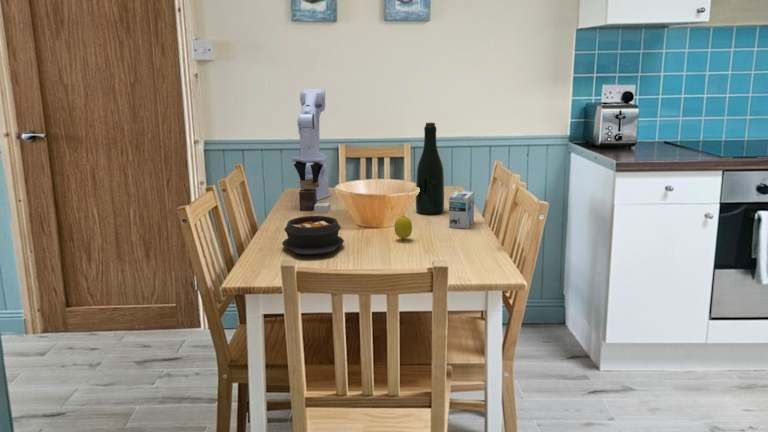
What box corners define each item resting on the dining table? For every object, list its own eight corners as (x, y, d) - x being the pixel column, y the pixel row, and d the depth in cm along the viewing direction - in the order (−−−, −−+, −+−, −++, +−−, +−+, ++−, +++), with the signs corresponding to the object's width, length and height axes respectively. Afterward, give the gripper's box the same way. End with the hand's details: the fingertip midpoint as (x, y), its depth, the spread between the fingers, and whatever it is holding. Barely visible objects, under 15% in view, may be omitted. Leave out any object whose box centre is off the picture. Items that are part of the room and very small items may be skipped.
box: (315, 210, 247) (314, 191, 245) (299, 210, 247) (298, 191, 245) (317, 207, 253) (316, 188, 251) (301, 207, 253) (301, 188, 251)
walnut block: (308, 186, 251) (307, 179, 250) (319, 186, 249) (318, 179, 248) (300, 188, 247) (299, 181, 246) (311, 189, 244) (310, 181, 244)
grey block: (317, 210, 248) (317, 202, 248) (330, 210, 248) (330, 202, 247) (314, 213, 243) (314, 205, 243) (327, 213, 243) (327, 205, 242)
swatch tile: (319, 202, 261) (319, 201, 260) (332, 203, 258) (332, 202, 258) (311, 205, 255) (311, 204, 255) (324, 206, 253) (324, 205, 253)
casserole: (347, 258, 188) (346, 230, 186) (282, 262, 186) (280, 233, 184) (341, 235, 212) (340, 210, 210) (283, 238, 210) (281, 213, 208)
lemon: (407, 236, 209) (407, 212, 207) (414, 241, 204) (414, 216, 202) (391, 238, 207) (391, 214, 206) (398, 243, 202) (398, 218, 201)
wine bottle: (409, 211, 243) (409, 122, 235) (430, 207, 249) (430, 120, 241) (429, 216, 235) (429, 124, 227) (450, 212, 241) (451, 122, 234)
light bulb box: (468, 229, 218) (468, 197, 215) (448, 227, 220) (448, 196, 217) (474, 221, 228) (474, 191, 225) (455, 220, 230) (455, 190, 227)
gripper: (285, 146, 244) (287, 182, 247) (318, 148, 237) (319, 185, 241) (296, 144, 250) (298, 179, 253) (328, 146, 243) (329, 181, 247)
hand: (309, 181), depth 247 cm, fingers closed on walnut block, 5 cm apart
